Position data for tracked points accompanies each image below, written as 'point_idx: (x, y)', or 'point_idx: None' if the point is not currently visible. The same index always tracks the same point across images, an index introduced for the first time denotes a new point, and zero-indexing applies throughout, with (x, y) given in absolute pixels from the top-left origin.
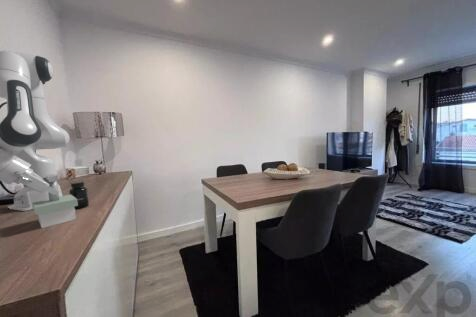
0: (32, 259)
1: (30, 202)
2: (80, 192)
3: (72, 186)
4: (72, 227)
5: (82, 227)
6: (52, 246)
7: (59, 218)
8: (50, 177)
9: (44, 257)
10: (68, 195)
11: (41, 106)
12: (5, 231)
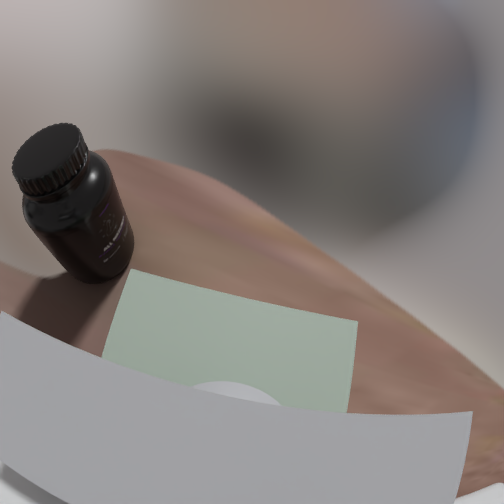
0: None
1: None
2: (109, 201)
3: (45, 194)
4: (391, 400)
5: (422, 376)
6: (472, 459)
7: None
8: (443, 500)
9: (498, 468)
10: (147, 293)
11: None
12: None
